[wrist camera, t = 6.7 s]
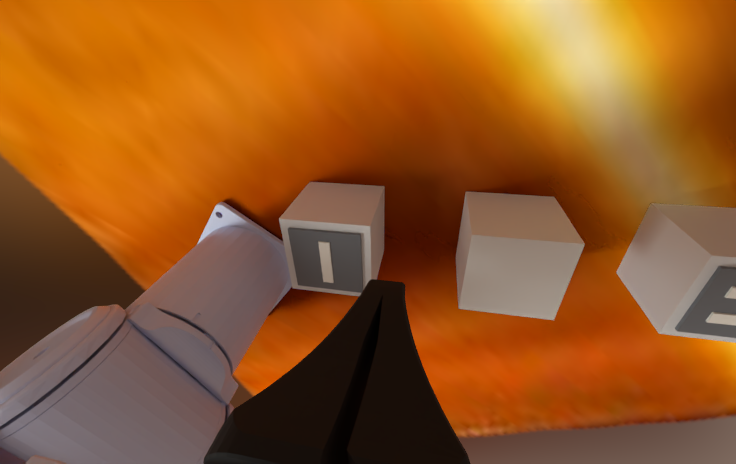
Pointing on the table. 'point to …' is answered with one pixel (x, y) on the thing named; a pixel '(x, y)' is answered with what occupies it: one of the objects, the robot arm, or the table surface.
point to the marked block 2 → (685, 270)
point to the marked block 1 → (334, 237)
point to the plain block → (515, 254)
